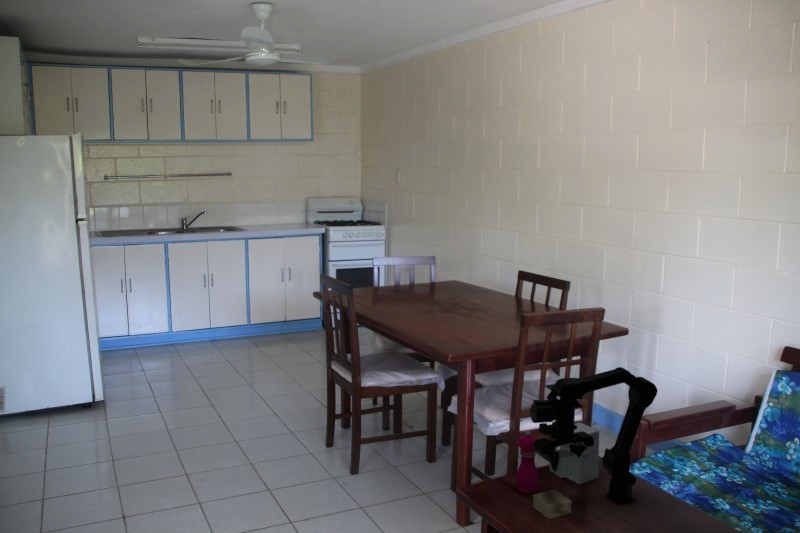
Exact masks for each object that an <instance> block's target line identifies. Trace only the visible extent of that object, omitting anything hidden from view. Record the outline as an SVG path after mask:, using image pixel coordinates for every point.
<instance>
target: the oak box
mask: <svg viewBox="0 0 800 533" xmlns="http://www.w3.org/2000/svg"><path fill="white" fill-rule="evenodd" d="M532 497H533V509H535V510H537V511H538V512H539V513H540V514H542V515H543V516H544V517H545V518H547V519H548V520H553V519H555V518H559V517H563V516H567V515H570V514H572V503H573V500H572V499H570V498H568V497H567V496H565V495H564V494H562V493H561V492H560V491H558V490H556V489H551V490H547V491H543V492H538V493H534V494H532Z"/></svg>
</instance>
